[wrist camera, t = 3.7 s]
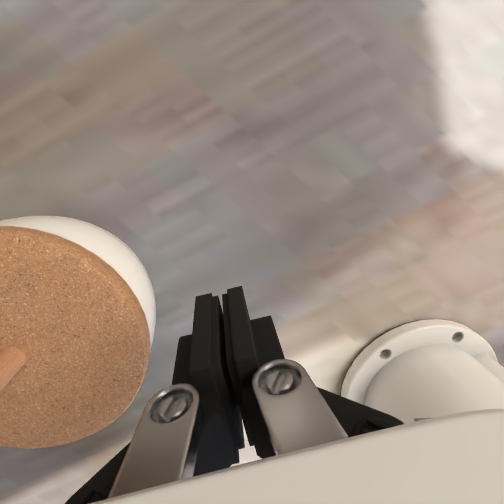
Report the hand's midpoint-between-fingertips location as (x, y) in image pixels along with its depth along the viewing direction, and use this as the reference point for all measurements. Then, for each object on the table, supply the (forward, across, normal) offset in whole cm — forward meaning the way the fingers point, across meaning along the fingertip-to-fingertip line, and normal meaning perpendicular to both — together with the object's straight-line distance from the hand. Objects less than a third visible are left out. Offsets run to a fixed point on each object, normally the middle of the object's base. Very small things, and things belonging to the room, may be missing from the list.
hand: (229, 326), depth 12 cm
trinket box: (+10, +9, +1) cm, 14 cm away
